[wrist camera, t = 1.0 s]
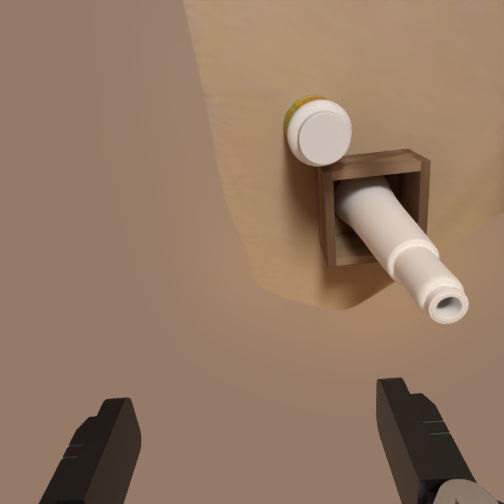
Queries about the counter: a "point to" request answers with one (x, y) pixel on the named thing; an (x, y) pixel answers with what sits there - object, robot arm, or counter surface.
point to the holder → (365, 165)
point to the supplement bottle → (317, 130)
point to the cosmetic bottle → (400, 246)
